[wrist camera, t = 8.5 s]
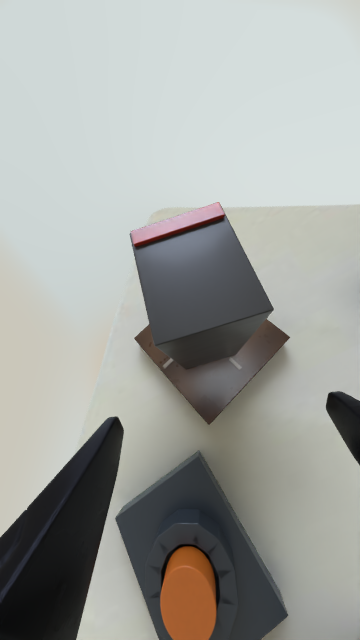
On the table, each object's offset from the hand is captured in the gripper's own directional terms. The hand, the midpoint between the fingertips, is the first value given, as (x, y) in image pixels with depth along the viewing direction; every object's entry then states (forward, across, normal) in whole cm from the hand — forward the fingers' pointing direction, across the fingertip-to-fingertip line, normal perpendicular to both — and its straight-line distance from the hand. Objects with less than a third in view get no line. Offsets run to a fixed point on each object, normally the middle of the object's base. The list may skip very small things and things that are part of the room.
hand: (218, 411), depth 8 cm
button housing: (+1, +4, +17) cm, 18 cm away
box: (+13, 0, +3) cm, 13 cm away
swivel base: (+13, 0, +5) cm, 14 cm away
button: (-1, +4, +15) cm, 16 cm away
